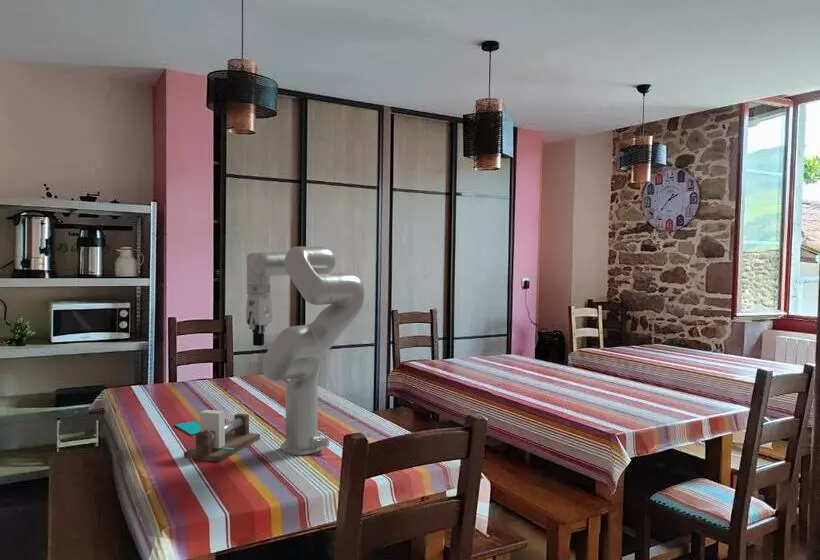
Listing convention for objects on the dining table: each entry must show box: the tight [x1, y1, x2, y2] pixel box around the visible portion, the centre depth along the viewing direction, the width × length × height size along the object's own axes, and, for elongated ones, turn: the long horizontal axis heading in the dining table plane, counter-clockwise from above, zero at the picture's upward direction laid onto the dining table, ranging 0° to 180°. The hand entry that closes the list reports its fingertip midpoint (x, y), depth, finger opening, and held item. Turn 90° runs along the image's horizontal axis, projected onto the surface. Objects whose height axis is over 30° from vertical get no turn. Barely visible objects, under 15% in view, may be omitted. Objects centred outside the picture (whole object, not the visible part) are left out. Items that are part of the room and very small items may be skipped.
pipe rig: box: [183, 413, 261, 463], centre depth 180 cm, size 12×22×8 cm, turn 164°
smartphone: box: [173, 420, 200, 437], centre depth 199 cm, size 7×1×15 cm
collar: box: [199, 409, 226, 448], centre depth 174 cm, size 6×3×10 cm, turn 74°
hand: (258, 345), depth 195 cm, fingers closed
